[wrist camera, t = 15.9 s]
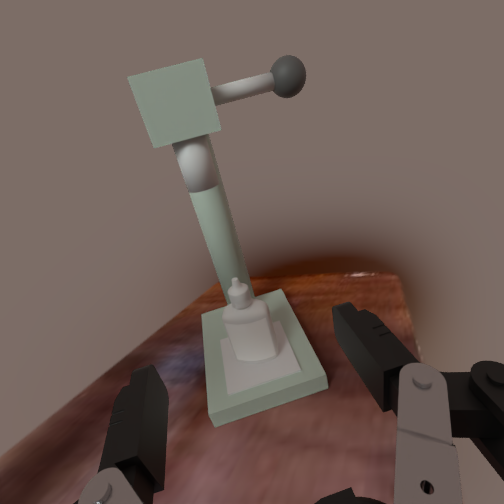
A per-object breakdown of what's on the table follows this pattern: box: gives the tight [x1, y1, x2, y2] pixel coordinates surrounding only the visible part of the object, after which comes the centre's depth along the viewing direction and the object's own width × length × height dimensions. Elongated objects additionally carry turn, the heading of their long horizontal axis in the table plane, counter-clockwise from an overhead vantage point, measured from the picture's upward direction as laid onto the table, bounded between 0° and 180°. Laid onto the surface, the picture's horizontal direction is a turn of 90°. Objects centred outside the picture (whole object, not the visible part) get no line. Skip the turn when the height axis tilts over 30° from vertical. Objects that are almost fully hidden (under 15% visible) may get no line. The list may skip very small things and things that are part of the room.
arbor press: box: [127, 55, 328, 427], centre depth 34 cm, size 18×20×35 cm
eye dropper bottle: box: [222, 277, 278, 364], centre depth 35 cm, size 4×6×12 cm
